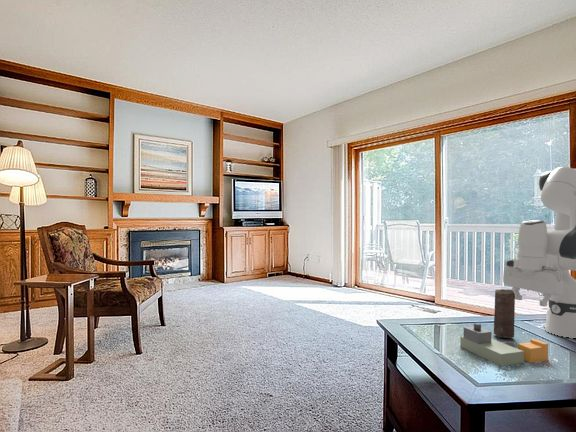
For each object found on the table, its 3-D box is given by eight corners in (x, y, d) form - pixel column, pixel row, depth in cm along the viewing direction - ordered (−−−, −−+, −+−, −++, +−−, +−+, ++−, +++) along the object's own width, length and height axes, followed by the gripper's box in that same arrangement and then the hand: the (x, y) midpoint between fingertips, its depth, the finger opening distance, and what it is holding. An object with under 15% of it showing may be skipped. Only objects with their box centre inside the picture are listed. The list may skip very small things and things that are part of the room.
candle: (517, 341, 141) (518, 292, 141) (497, 339, 143) (498, 291, 143) (509, 335, 149) (510, 288, 149) (490, 333, 150) (491, 287, 150)
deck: (500, 342, 140) (501, 317, 140) (545, 359, 123) (545, 331, 123) (460, 346, 134) (460, 320, 134) (500, 366, 117) (501, 336, 117)
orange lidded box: (534, 355, 127) (534, 338, 127) (548, 360, 123) (548, 343, 123) (517, 357, 125) (517, 340, 125) (530, 363, 120) (530, 345, 120)
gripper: (568, 268, 117) (567, 309, 116) (513, 261, 136) (512, 296, 136) (554, 268, 115) (553, 310, 115) (500, 261, 135) (499, 296, 134)
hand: (530, 302), depth 126 cm, fingers open, 8 cm apart
